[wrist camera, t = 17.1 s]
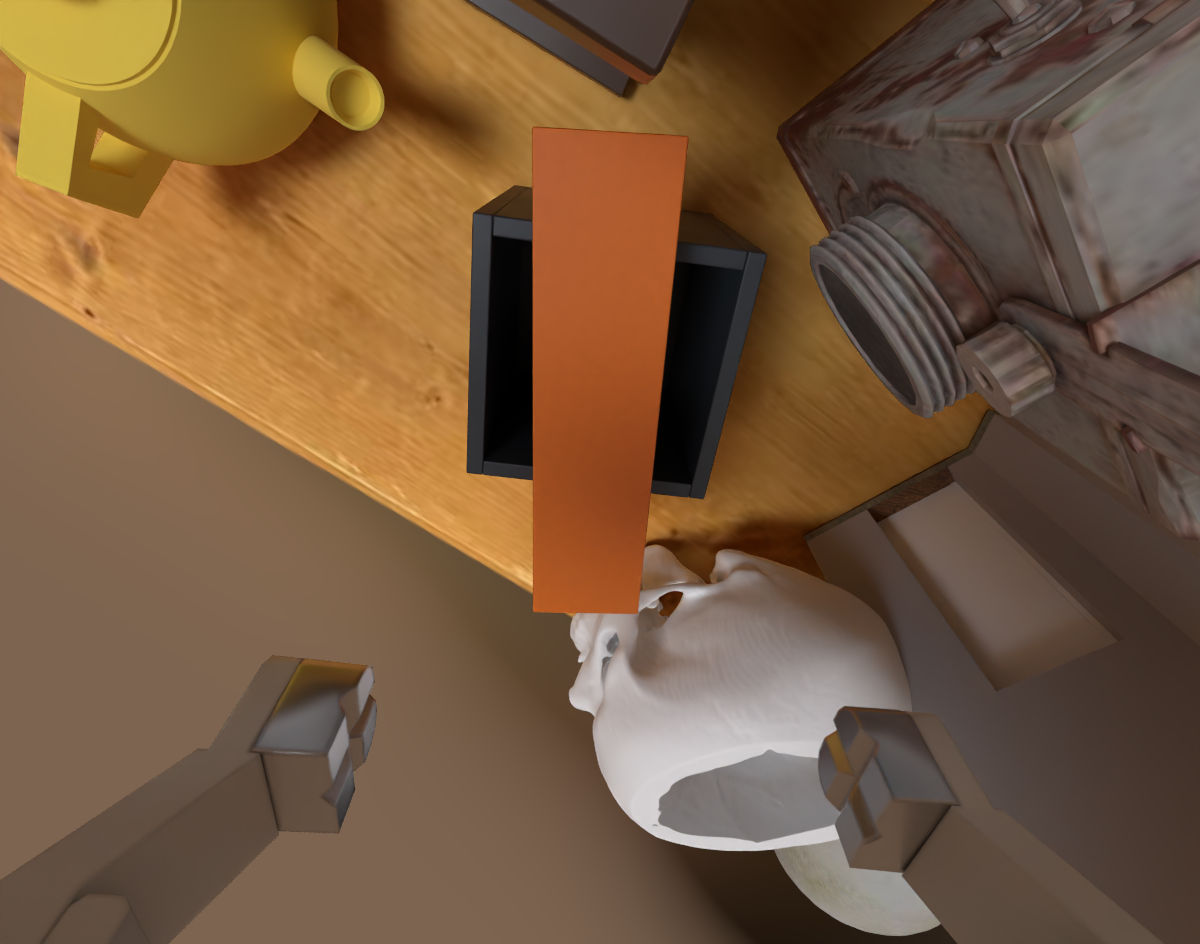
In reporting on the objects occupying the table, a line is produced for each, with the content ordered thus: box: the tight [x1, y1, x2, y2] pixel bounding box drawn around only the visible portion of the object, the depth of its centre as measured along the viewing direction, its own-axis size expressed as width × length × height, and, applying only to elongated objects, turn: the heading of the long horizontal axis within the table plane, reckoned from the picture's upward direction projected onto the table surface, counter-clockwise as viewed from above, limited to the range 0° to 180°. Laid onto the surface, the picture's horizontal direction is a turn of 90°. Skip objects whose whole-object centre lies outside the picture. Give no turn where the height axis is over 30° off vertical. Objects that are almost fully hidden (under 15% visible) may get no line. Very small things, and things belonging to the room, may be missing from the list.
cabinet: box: [803, 410, 1200, 944], centre depth 29 cm, size 21×10×28 cm, turn 170°
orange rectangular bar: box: [532, 127, 689, 614], centre depth 22 cm, size 18×4×2 cm, turn 177°
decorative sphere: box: [774, 839, 941, 936], centre depth 45 cm, size 15×15×15 cm
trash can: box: [467, 186, 767, 499], centre depth 28 cm, size 10×10×12 cm
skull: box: [569, 545, 912, 851], centre depth 36 cm, size 13×18×20 cm
